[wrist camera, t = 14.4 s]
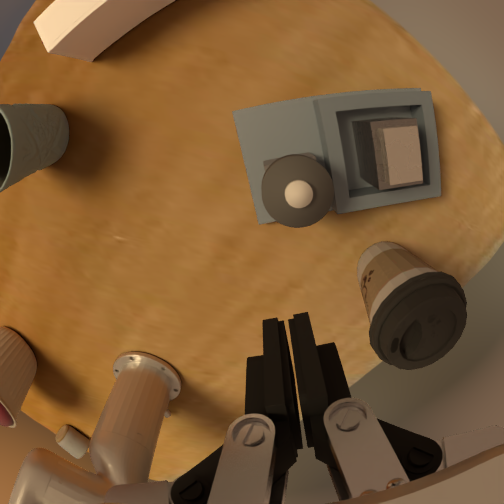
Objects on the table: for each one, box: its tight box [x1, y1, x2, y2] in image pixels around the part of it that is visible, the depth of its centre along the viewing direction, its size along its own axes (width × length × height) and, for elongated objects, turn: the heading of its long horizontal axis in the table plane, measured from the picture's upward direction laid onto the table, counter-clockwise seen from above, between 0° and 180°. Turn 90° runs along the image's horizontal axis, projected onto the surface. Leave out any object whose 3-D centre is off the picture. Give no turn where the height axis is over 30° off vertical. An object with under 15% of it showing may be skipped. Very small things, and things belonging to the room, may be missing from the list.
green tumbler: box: [0, 104, 69, 192], centre depth 26 cm, size 10×10×12 cm
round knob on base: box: [261, 154, 334, 228], centre depth 28 cm, size 6×6×7 cm
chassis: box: [232, 88, 441, 224], centre depth 29 cm, size 13×22×6 cm, turn 103°
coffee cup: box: [357, 242, 467, 370], centre depth 31 cm, size 11×11×15 cm
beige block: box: [351, 117, 423, 190], centre depth 27 cm, size 5×6×7 cm
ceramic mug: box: [56, 425, 90, 459], centre depth 59 cm, size 11×8×8 cm
